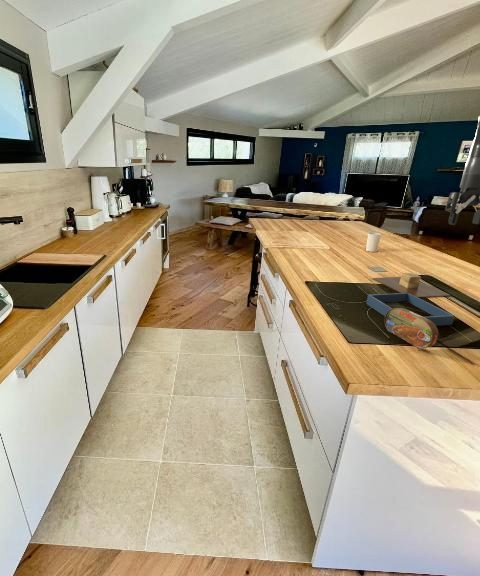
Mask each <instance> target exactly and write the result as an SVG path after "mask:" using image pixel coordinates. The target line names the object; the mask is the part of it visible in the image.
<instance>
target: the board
mask: <svg viewBox="0 0 480 576" xmlns="http://www.w3.org/2000/svg"><path fill="white" fill-rule="evenodd" d="M400 279H401V276H389V277H388V276H387V277H386V276H385V277H373V278H372V280H373V281H375V282H377V283H379V284H381V285H383V286H385V287H387V288H388V289H391V290H392V291H395V293H410V294H412V295H414V296H416V297H418V298H420V299H426V298H427V299H428V298H446V297H447V298H448V297H451V296H452V295H451V294H449V293H447V292H445V291H442V290H440V289H438V288H435V287H434V286H430V285H429V284H426V283H424V282H422V281H420V283H419V287H418V288H406V287H404V286H402V285H400V284H399V283H400Z"/></svg>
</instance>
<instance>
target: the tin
mask: <svg viewBox="0 0 480 576" xmlns="http://www.w3.org/2000/svg"><path fill="white" fill-rule="evenodd" d="M424 317H425V316H422V315H420V314H418V313H415V312H414V311H411V310H409V309H407V308H403V307H393V308H392V309H390V310H389V311H388V312H387V313H386V315H385V316H384V326H385V328H386V330H387V332H389V333H391V334H393V335H395V336H397V337H398V338H400V339H402V340H404V341H405V342H407V343H408V344H410V345H411V346H413V347H415V348H416V349H417V350H422V349H427V348H431V347H434V346H435V345H436V343H437V342H438V339H439V329H438V326H436V325H435V324H434V323H433V322H432V321H431V320H429V319H427V318H424Z"/></svg>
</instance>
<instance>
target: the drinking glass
mask: <svg viewBox="0 0 480 576" xmlns="http://www.w3.org/2000/svg"><path fill="white" fill-rule="evenodd" d="M381 237H382V234H381V233H379V232H368V233H367V240H366V247H365V250H366V252H370V253H377V252H378V249H379V244H380V241H381Z"/></svg>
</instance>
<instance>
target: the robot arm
mask: <svg viewBox="0 0 480 576" xmlns="http://www.w3.org/2000/svg"><path fill="white" fill-rule="evenodd" d="M477 121H478V123H477V129H476V132H475V137H474V139H473V141H472V144H471V147H470V150H469V154H468V156H467V157H468V158H467V160H466V163H465V165H464V169H463V172H462V177H461V180H460V183H459V188H460V191H459V192H455V191H452V192H449V195H448V198H447V202H446V205H445V208H444V211H446V212H448V213H449V216H448V220H447V221H448V225H450V226H456V225H457V222H458V218H459V215H460V213H461V211H462V210H463V209H465V208H466V207H471V206H472V207H473V208H474V210H475V211H474V213H473V217H472V221H471V223H472V224H473V225H480V114H479V115H478V119H477Z"/></svg>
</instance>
